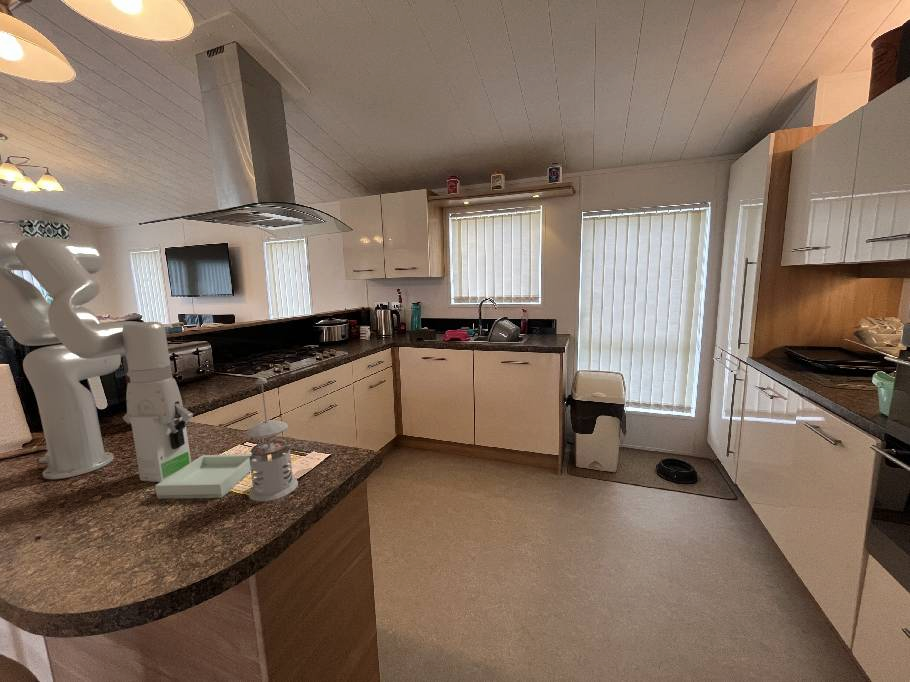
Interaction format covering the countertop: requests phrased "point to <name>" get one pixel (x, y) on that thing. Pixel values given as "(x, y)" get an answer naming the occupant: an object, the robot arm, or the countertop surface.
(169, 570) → the countertop surface
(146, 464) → the skincare box
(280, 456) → the french press
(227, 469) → the tray
